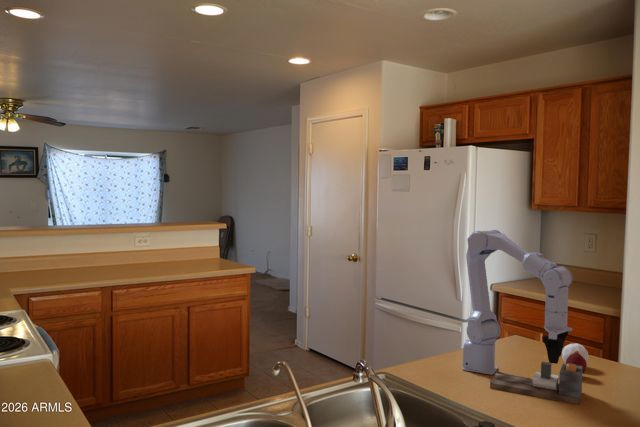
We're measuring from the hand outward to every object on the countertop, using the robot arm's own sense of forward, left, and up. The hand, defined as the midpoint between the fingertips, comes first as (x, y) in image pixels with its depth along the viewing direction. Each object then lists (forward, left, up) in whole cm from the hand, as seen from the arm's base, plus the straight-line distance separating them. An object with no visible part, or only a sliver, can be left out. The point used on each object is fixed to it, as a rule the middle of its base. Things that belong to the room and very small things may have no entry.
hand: (555, 359), depth 149 cm
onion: (+4, +19, -10) cm, 22 cm away
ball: (+3, +29, -10) cm, 31 cm away
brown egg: (+4, 0, -5) cm, 6 cm away
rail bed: (-5, 0, -10) cm, 11 cm away
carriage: (-2, 0, -8) cm, 8 cm away
